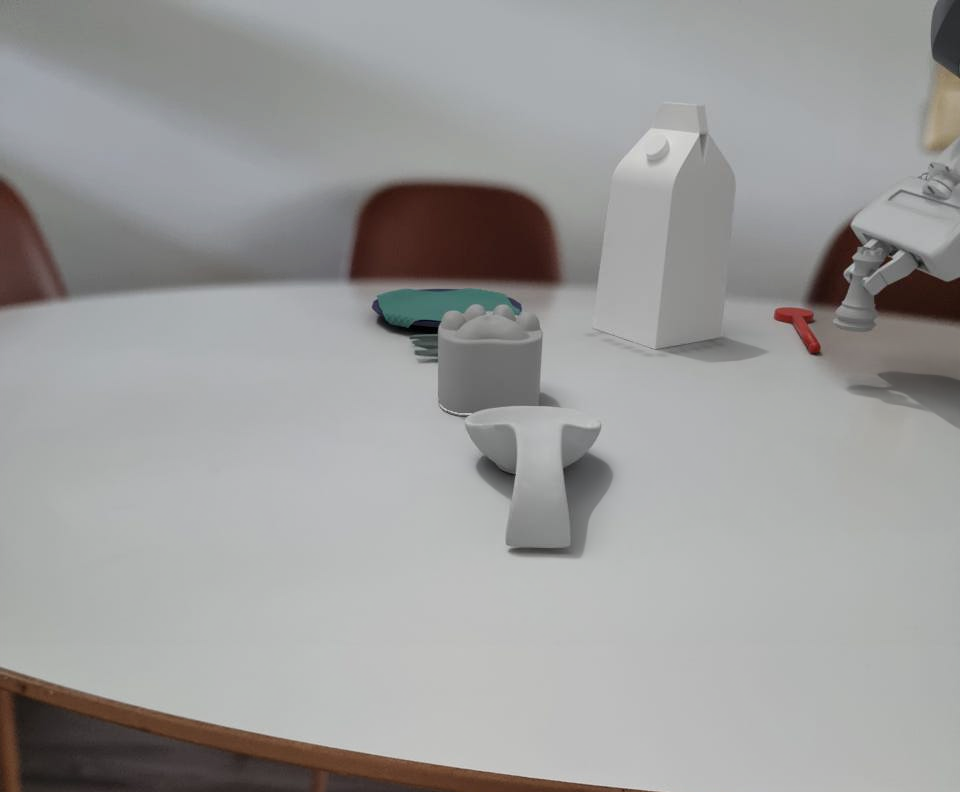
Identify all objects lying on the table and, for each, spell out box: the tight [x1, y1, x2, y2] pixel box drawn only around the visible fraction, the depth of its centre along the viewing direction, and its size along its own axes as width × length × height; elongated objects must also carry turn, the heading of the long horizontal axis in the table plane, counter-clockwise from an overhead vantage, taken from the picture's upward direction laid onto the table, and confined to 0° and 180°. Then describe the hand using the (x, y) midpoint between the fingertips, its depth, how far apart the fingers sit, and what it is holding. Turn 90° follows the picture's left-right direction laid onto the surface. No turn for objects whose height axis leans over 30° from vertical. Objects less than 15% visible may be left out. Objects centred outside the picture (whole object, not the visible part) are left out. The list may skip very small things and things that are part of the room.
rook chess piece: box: [832, 245, 886, 333], centre depth 103 cm, size 4×4×8 cm
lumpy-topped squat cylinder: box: [437, 304, 544, 417], centre depth 99 cm, size 10×13×9 cm
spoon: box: [773, 306, 822, 355], centre depth 127 cm, size 21×5×1 cm, turn 172°
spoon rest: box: [464, 405, 602, 549], centre depth 79 cm, size 24×12×7 cm, turn 0°
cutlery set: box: [371, 287, 523, 357], centre depth 125 cm, size 20×30×2 cm, turn 10°
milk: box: [591, 101, 737, 350], centre depth 119 cm, size 12×12×26 cm
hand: (857, 285), depth 103 cm, fingers closed on rook chess piece, 3 cm apart
